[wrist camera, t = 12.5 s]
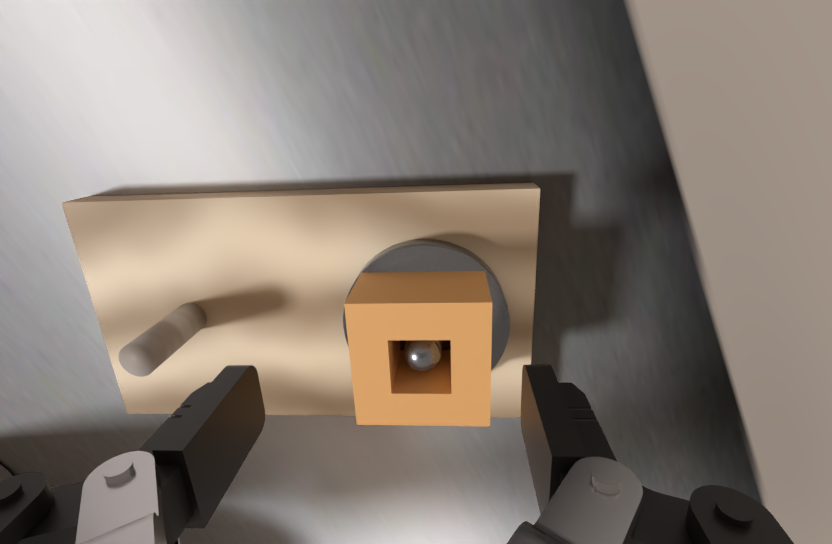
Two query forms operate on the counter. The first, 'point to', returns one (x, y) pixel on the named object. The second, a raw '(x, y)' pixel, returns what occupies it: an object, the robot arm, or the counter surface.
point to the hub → (432, 259)
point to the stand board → (281, 283)
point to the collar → (420, 320)
